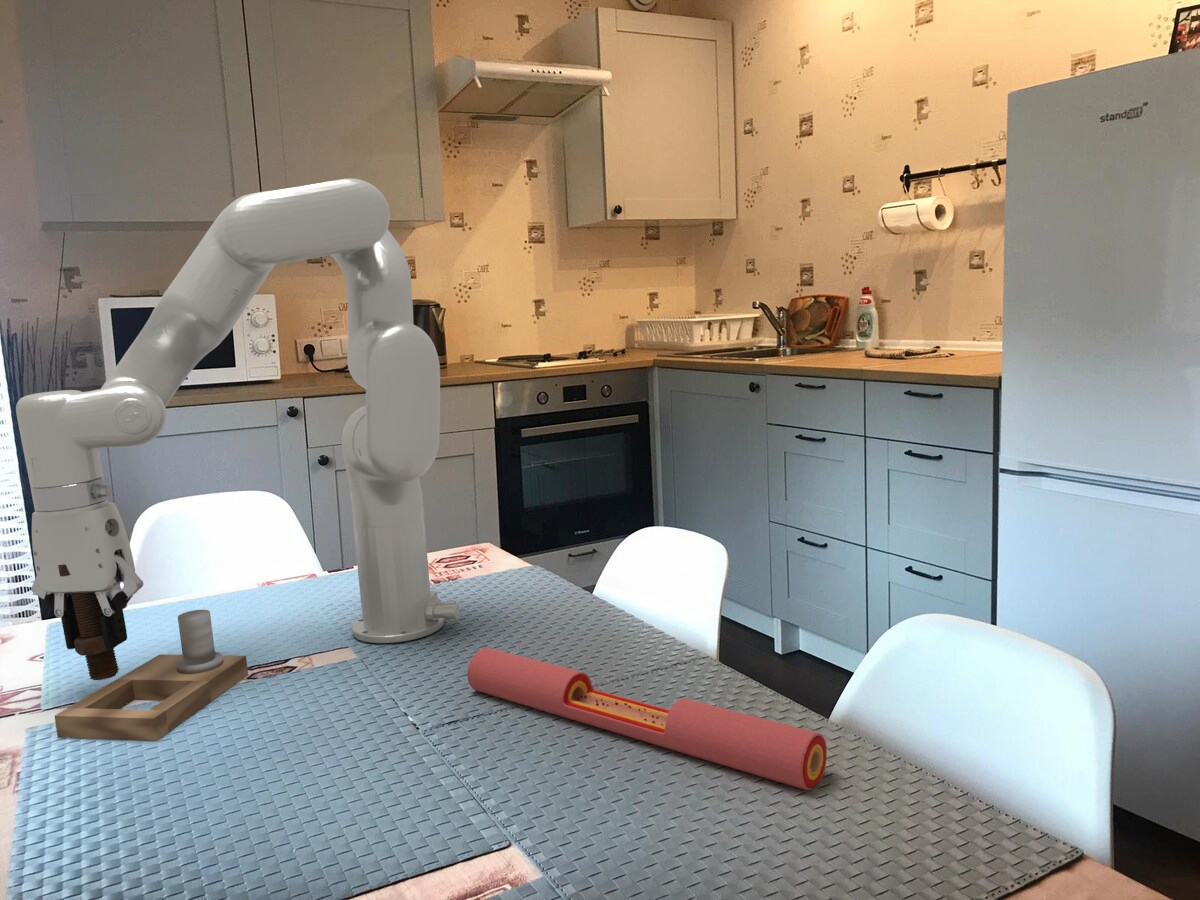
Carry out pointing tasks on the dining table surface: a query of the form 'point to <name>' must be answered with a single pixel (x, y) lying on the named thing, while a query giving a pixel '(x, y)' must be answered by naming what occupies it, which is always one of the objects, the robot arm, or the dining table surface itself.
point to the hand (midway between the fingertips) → (97, 643)
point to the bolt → (91, 634)
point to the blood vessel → (657, 719)
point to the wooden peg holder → (158, 689)
